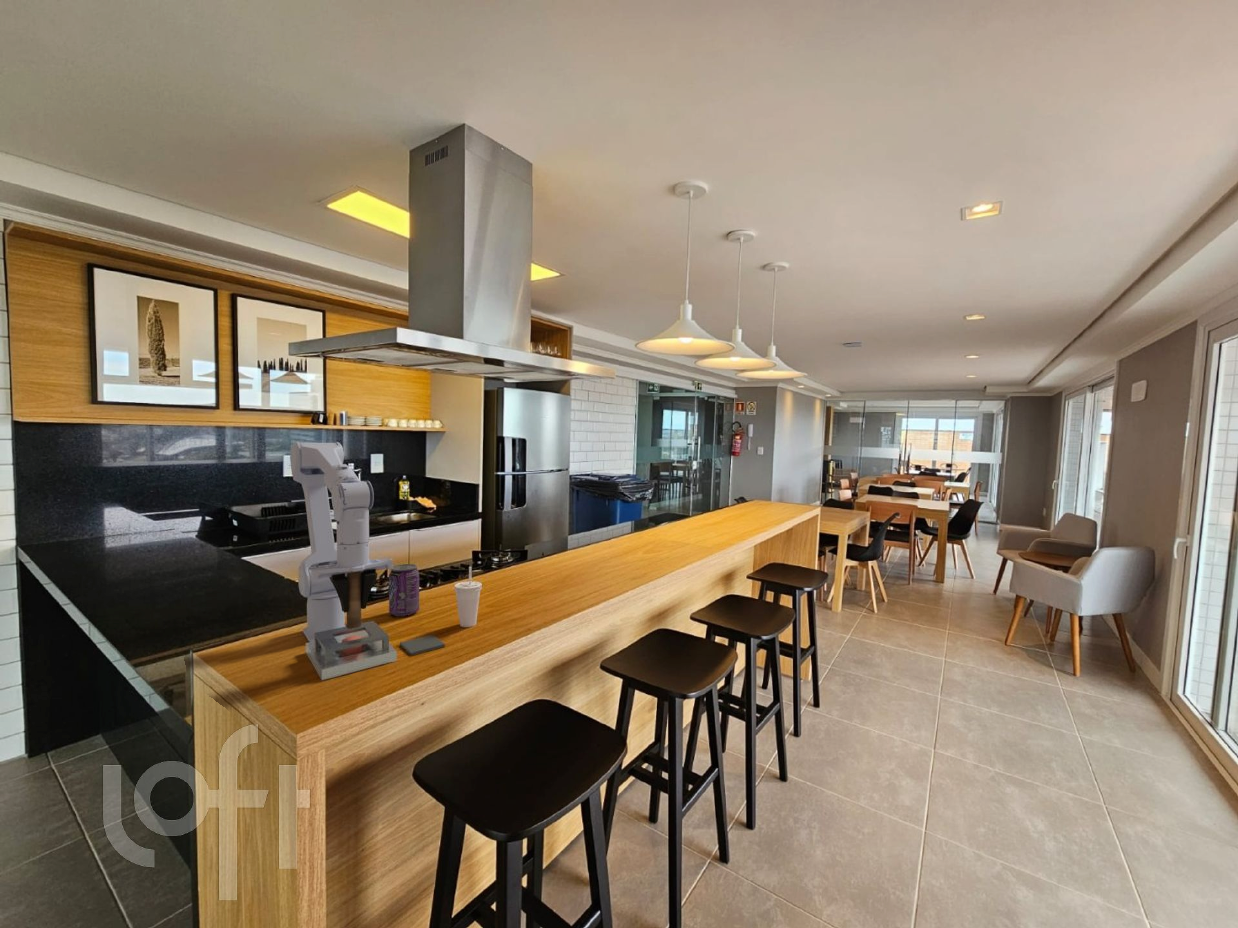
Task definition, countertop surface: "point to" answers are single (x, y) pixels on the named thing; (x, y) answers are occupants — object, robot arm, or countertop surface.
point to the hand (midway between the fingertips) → (353, 609)
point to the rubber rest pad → (422, 644)
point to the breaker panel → (349, 660)
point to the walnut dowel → (354, 600)
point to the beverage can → (404, 590)
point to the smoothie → (468, 601)
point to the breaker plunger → (352, 649)
